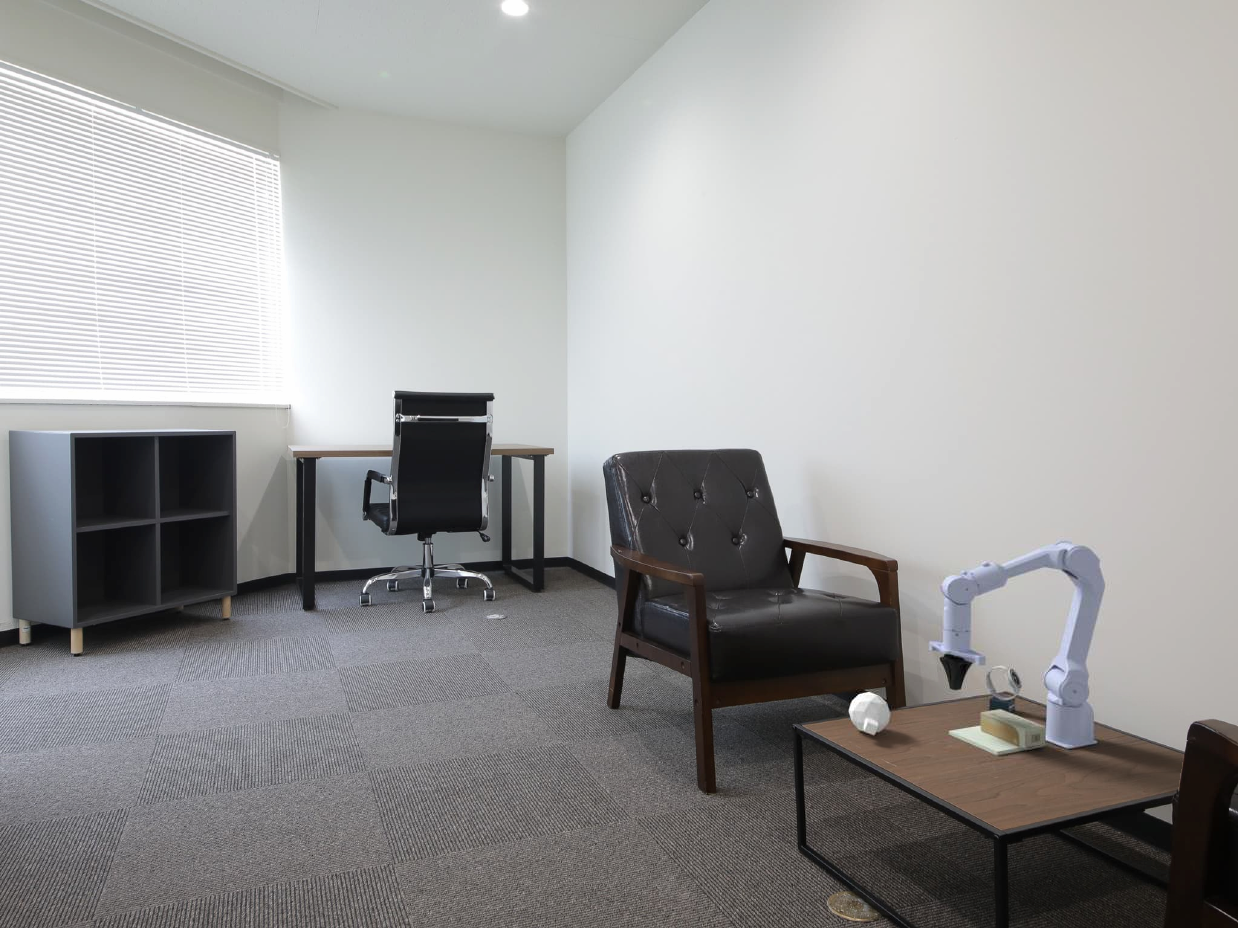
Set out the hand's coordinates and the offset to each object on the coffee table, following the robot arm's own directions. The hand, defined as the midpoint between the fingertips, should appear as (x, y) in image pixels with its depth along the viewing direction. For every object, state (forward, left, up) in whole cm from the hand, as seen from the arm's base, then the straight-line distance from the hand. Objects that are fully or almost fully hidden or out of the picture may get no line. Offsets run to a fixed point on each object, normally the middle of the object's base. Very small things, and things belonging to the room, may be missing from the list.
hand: (955, 688), depth 182 cm
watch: (-24, -8, -11) cm, 27 cm away
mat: (-6, +6, -10) cm, 13 cm away
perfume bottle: (+18, -8, -11) cm, 22 cm away
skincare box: (-8, +14, -7) cm, 18 cm away
